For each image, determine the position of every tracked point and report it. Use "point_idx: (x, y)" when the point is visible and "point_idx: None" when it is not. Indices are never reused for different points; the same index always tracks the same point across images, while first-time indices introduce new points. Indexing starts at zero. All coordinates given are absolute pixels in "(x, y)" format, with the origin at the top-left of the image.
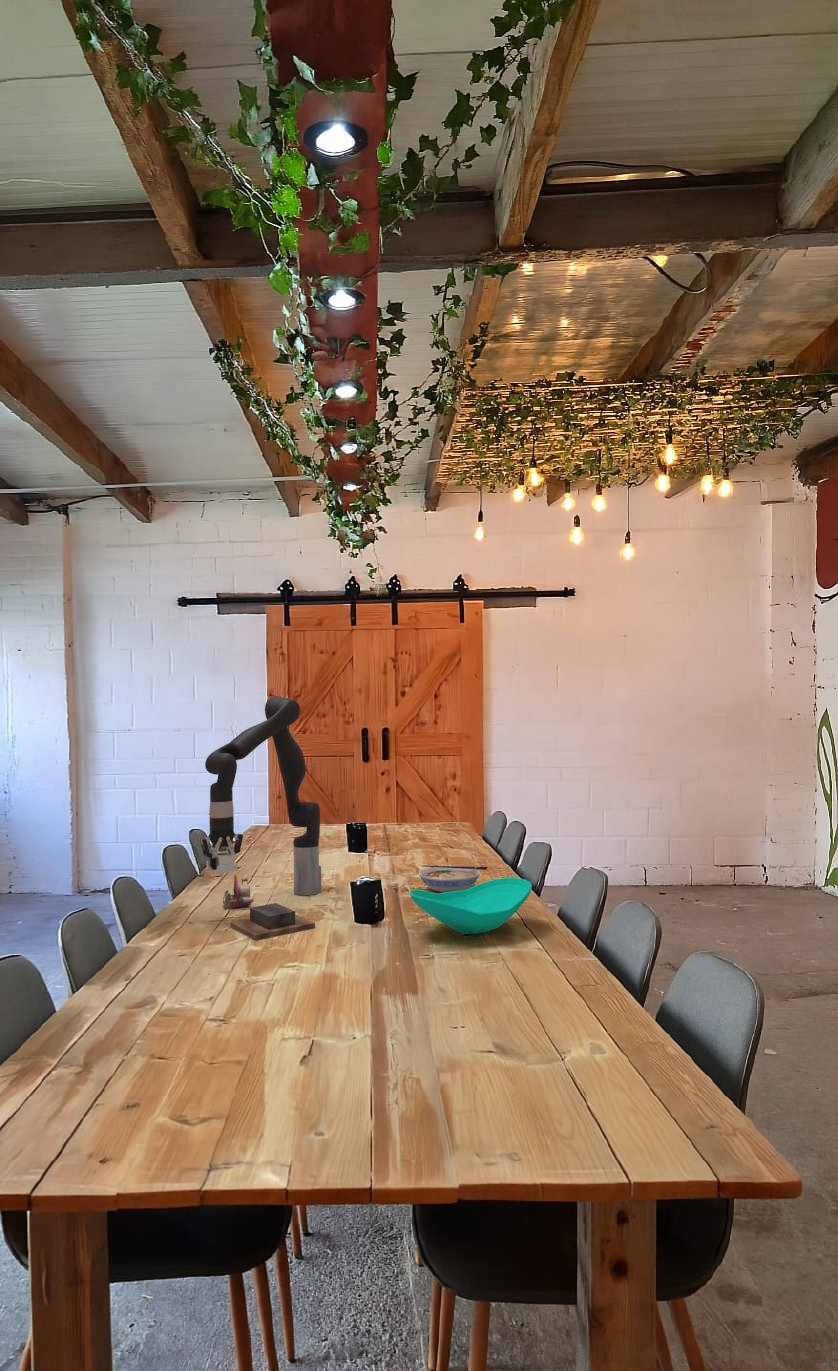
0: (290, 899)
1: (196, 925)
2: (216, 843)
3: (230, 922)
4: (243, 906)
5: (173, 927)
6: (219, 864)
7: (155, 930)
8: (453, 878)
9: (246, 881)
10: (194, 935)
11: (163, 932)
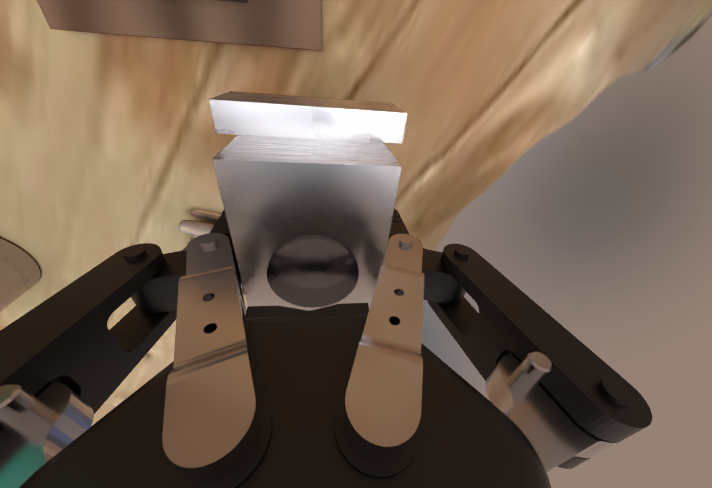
0: (54, 227)
1: None
2: (418, 341)
3: (321, 46)
4: None
5: (439, 177)
6: (383, 143)
7: (480, 181)
8: None
9: None
10: (453, 45)
11: (482, 150)
